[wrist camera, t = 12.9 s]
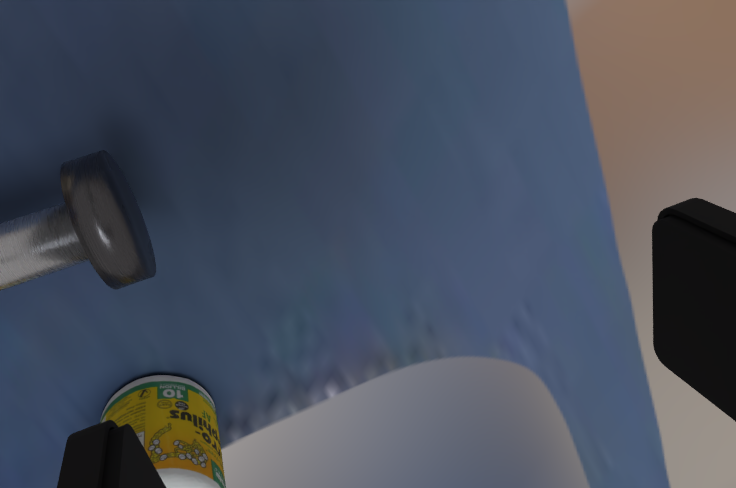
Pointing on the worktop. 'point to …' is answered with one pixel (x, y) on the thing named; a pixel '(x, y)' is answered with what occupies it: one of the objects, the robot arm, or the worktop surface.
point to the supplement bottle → (173, 428)
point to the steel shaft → (81, 229)
